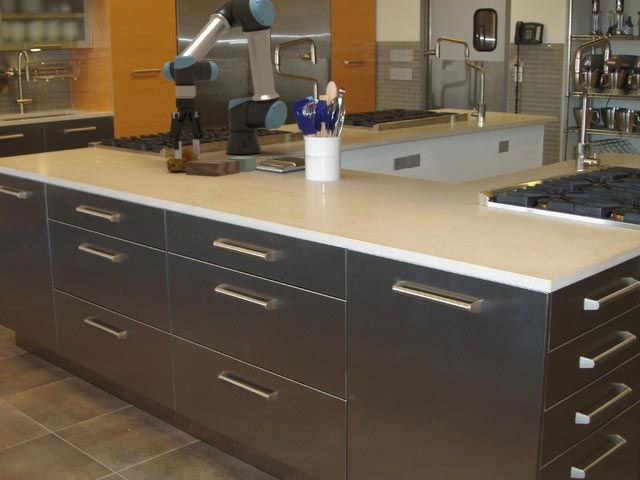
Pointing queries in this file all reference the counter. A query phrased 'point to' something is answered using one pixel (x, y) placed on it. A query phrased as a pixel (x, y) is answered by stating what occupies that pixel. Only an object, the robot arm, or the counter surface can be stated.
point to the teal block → (245, 163)
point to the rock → (181, 161)
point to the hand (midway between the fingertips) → (187, 157)
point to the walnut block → (212, 167)
